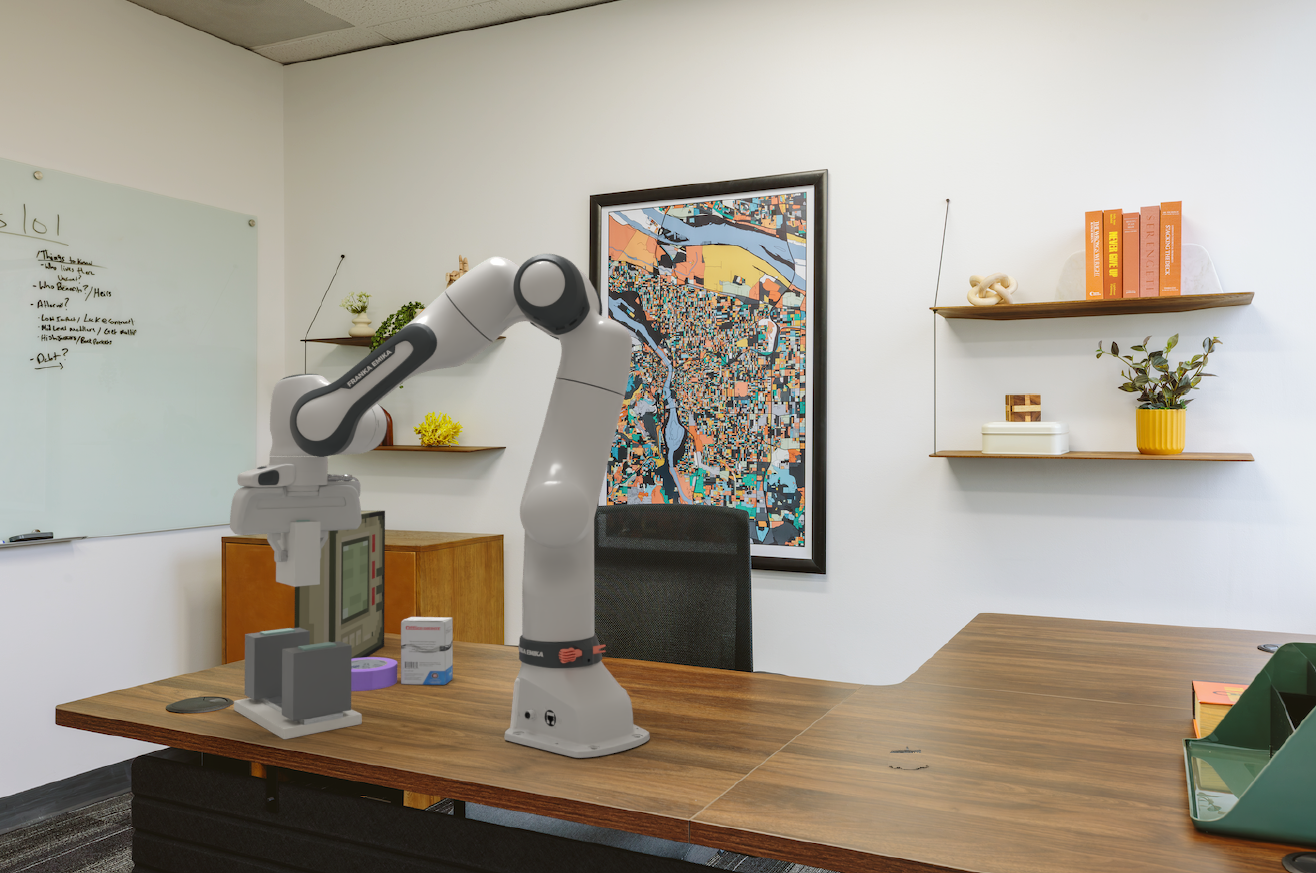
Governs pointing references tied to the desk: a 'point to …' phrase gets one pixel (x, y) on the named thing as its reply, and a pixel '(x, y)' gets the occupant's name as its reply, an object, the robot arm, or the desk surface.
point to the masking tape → (372, 673)
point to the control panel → (348, 589)
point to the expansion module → (300, 554)
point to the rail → (277, 705)
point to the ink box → (427, 650)
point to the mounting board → (287, 727)
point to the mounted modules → (298, 672)
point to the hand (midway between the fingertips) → (297, 560)
